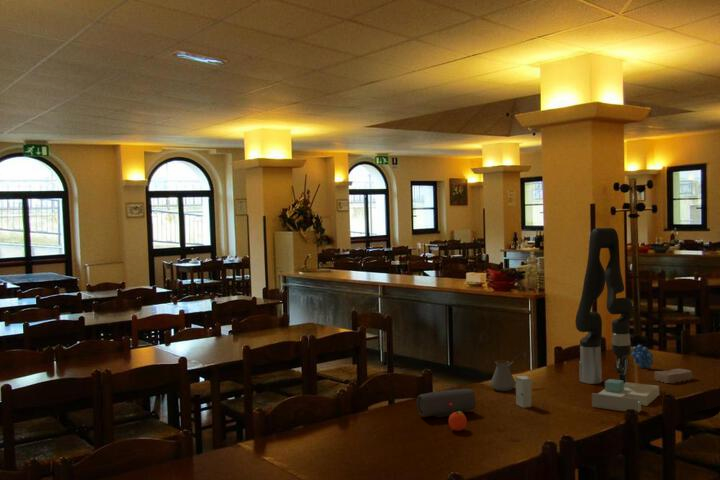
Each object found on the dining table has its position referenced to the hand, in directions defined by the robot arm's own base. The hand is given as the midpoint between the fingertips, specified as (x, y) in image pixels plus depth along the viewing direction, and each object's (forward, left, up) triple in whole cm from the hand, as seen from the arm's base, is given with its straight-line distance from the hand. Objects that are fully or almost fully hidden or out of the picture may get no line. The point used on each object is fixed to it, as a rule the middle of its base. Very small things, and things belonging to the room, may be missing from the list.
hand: (622, 382), depth 287 cm
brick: (+12, +37, -6) cm, 39 cm away
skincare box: (-29, -37, -5) cm, 47 cm away
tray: (+4, -9, -5) cm, 11 cm away
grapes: (-7, +53, -5) cm, 54 cm away
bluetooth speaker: (-50, -65, -6) cm, 82 cm away
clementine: (-36, -79, -5) cm, 87 cm away
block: (-1, -9, -1) cm, 9 cm away
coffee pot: (-48, -12, -6) cm, 50 cm away
